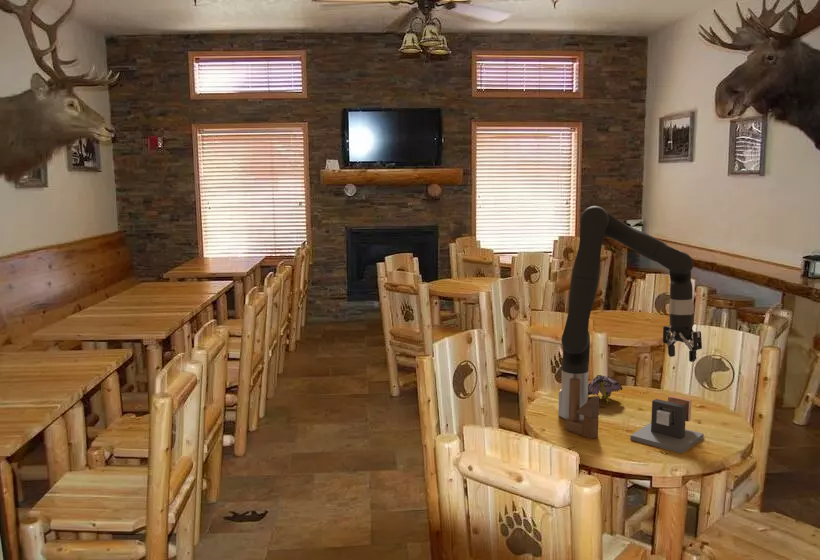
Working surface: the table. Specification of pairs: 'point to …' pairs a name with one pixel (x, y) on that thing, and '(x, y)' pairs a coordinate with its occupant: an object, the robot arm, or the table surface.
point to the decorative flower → (603, 386)
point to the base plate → (667, 439)
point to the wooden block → (582, 412)
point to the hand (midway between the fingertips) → (682, 358)
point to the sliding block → (673, 411)
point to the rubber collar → (679, 419)
